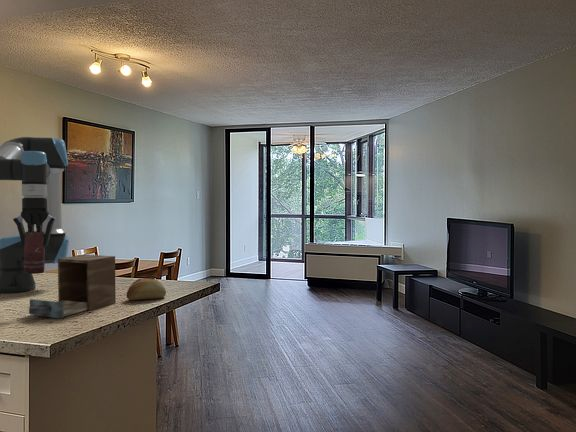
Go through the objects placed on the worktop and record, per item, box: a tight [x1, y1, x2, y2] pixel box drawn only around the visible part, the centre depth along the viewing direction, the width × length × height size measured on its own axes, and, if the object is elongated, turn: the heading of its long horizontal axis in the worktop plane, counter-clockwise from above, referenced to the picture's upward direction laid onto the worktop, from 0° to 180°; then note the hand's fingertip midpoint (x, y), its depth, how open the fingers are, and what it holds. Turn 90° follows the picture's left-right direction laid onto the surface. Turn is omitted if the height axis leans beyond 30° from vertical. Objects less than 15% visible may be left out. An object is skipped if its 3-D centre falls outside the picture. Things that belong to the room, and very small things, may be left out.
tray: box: [28, 298, 88, 319], centre depth 159 cm, size 14×17×5 cm
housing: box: [57, 254, 117, 312], centre depth 172 cm, size 14×13×18 cm
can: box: [24, 230, 46, 275], centre depth 160 cm, size 6×6×14 cm
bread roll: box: [126, 277, 167, 301], centre depth 184 cm, size 10×15×8 cm, turn 121°
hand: (35, 266), depth 161 cm, fingers closed
